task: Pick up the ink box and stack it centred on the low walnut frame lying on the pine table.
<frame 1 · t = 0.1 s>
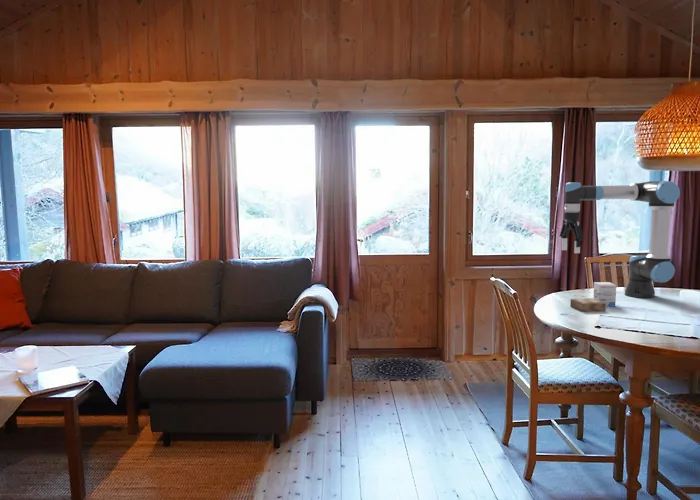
hand: (570, 251, 275), 28 cm above the table, fingers open, 13 cm apart
ink box: (603, 305, 273), on the table
walnut frame: (587, 308, 265), on the table
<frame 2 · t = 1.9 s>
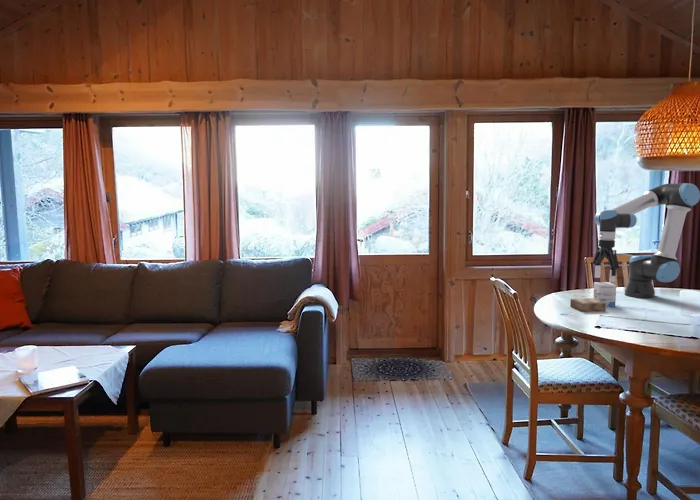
hand: (604, 279, 272), 13 cm above the table, fingers open, 13 cm apart
nothing on the table moved.
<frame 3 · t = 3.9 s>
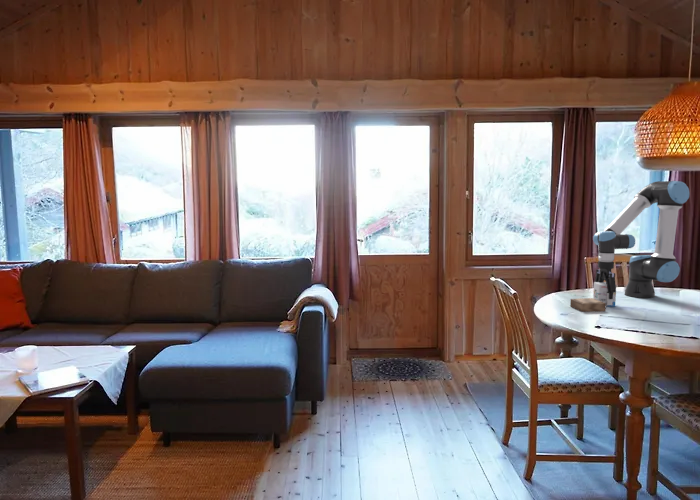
hand: (604, 302, 273), 1 cm above the table, fingers closed on ink box, 9 cm apart
ink box: (603, 305, 273), on the table, touching gripper
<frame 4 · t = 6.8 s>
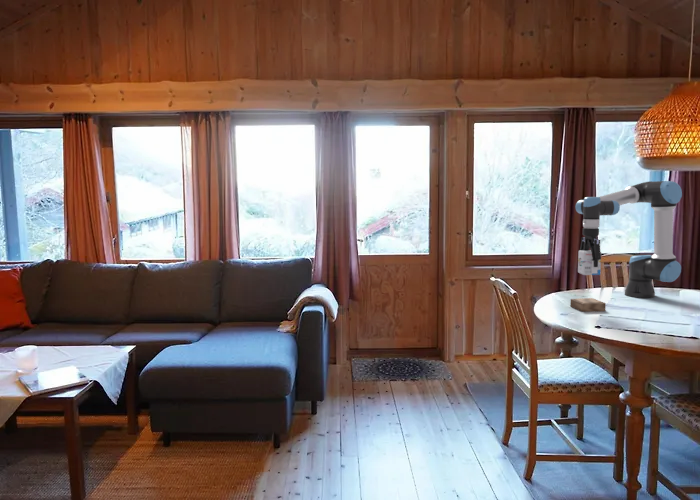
hand: (589, 271, 263), 19 cm above the table, fingers closed on ink box, 9 cm apart
ink box: (588, 274, 263), point 18 cm above the table, touching gripper
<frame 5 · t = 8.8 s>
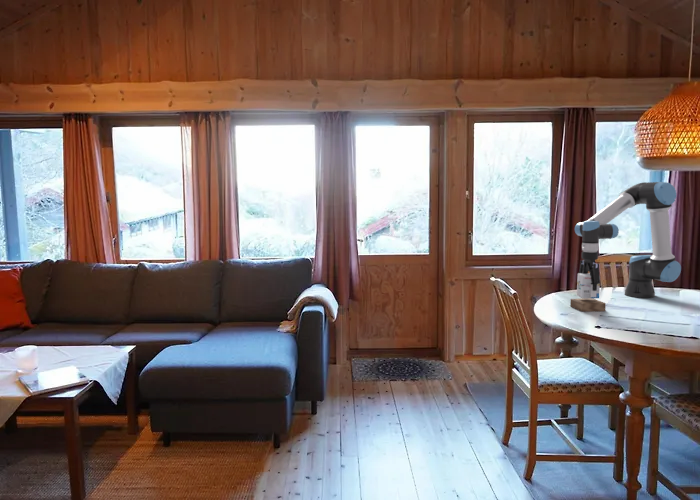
hand: (588, 294, 265), 7 cm above the table, fingers closed on ink box, 9 cm apart
ink box: (587, 297, 265), point 6 cm above the table, touching gripper
when the fingers open (6 cm above the table, at t = 10.0 s): ink box stays where it is, resting on walnut frame.
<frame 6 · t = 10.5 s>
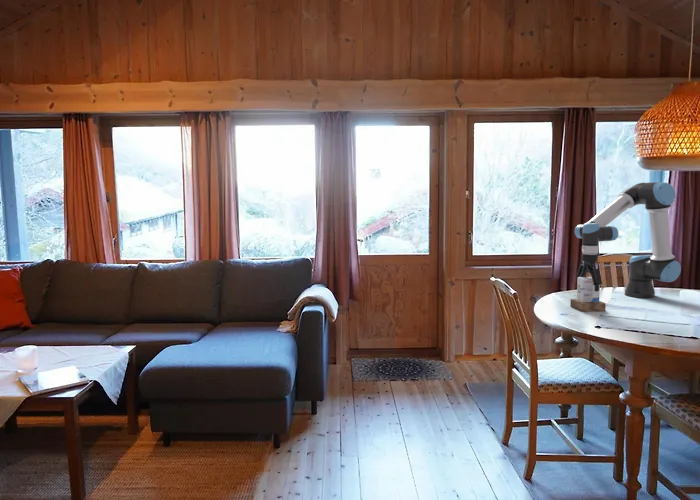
hand: (588, 294, 265), 7 cm above the table, fingers open, 13 cm apart
ink box: (587, 300, 265), point 4 cm above the table, touching walnut frame
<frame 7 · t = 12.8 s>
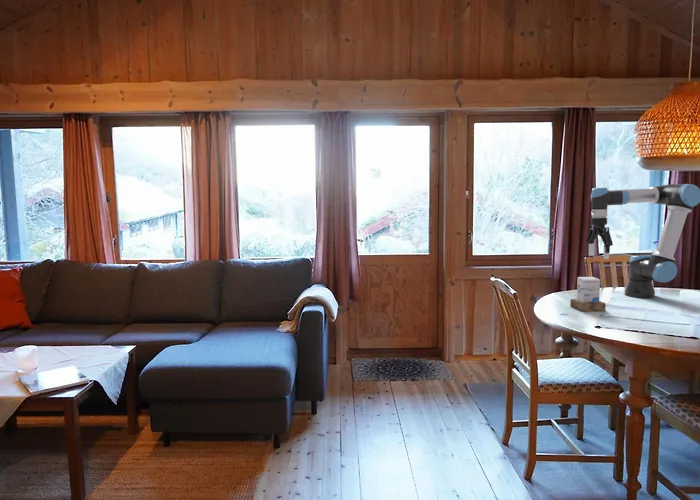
hand: (598, 257, 274), 25 cm above the table, fingers open, 13 cm apart
nothing on the table moved.
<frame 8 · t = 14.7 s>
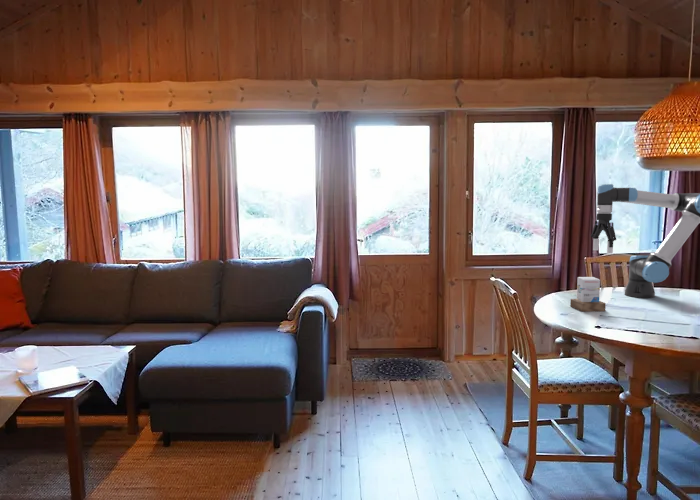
hand: (602, 251, 282), 27 cm above the table, fingers open, 13 cm apart
nothing on the table moved.
at the end: ink box inside the target area on the walnut frame (0.0 cm from its centre), point 4.1 cm above the walnut frame's base; ink box tilted 0°; the gripper is holding nothing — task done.
